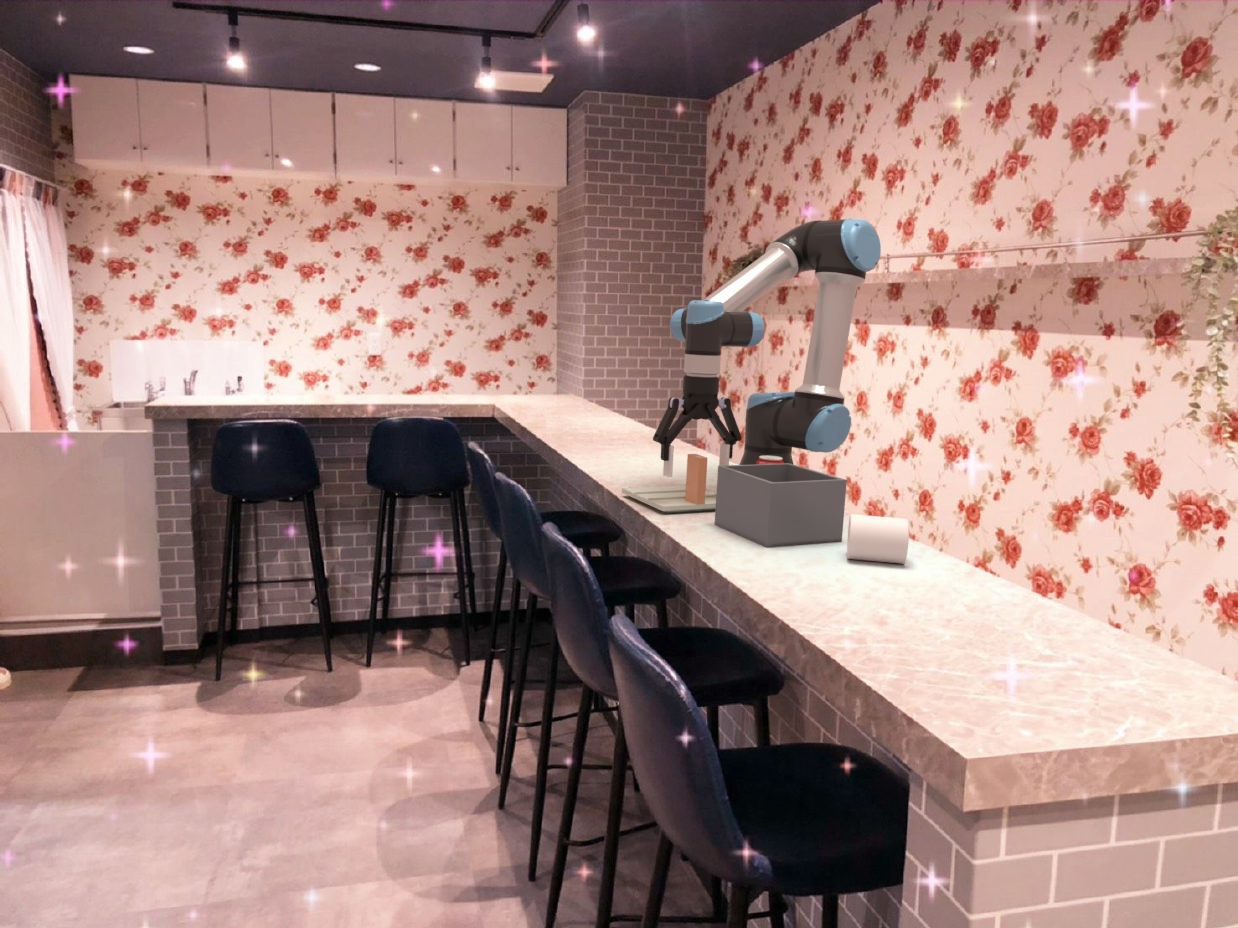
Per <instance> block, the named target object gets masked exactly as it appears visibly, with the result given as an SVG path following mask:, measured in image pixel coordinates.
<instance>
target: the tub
mask: <svg viewBox="0 0 1238 928" xmlns="http://www.w3.org/2000/svg"><path fill="white" fill-rule="evenodd" d="M847 480H848V479H844V478H841V477H838V476H834V475H831V474H828V473H824V472H821V471H817V470H814V469H810V468H807V467H803V466H800V465H798V464H795V463H793V464H790V463H781V464H754V465H739V464H732V465H730V464H729V465H727V466H719V465H718V466H717V480H716V493H715V494H716V509H715V510H714V512H715V513H714V526H717V527H719V528H721V529H724V530H725V531H729V532H730V533H733V534H735V535H738V536H740V537H742V538H744V539H747V540H749V541H751V542H753V543H755V544H758V545H760V546H762V547H765V548H777V547H791V546H800V545H802V546H803V545H814V544H825V543H827V544H828V543H839V542H842V541H843V531H844V517H845V505H846V497H847V496H846V493H847Z"/></svg>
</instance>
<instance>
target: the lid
mask: <svg viewBox="0 0 1238 928" xmlns="http://www.w3.org/2000/svg"><path fill="white" fill-rule="evenodd" d="M686 461H687V462H686V465H687V466H686V479H685V484H684V485H682V484H681V485H662V486H643V487H623V488H622V489H621V493H622V494H624V495H627V496H629V497H631V498H633V499H635V500H637V501H639V502H640V503H641V502H642V503H644V504H646V505H648V506H650V507H653V508H655V509H656V510H659V511H662V512H664V513H666V514H671V513H688V512H701V511H704V512H705V511H715V509H716V493H714V492H711V491H709V490H708V488H706V487H707V471H708V457H707V456H704V455H701V454H697V453H687V460H686Z"/></svg>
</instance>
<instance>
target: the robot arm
mask: <svg viewBox="0 0 1238 928" xmlns="http://www.w3.org/2000/svg"><path fill="white" fill-rule="evenodd" d="M881 249H882V248H881V241H880V237H879V235H878V232H877V229H876V228H875V227H874V226H873V225H872V224H871V223H870V222H869V221H867V220H864V219H857V218H856V219H853V218H847V219H831V220H820V219H819V220H811V221H807V222H805V223H802V224H800V225H798V226H796V227H793V228H792V229H790V230H788V231H787V232H785V233H784V234H782V235H781V236H779V237H778V238H776V239H775V240H773V242H771V243H770V244H768V246H766V249H765V253H764V254H762V255H761V256H760V257H758V258H757V259H756V260H754V261H753V262H752V263H750V264H749V265H748V266H746V267H745V268H744V269H743V270H741V271H740V272H738V273H737V274H736V275H734V276H733V277H732V278H731V279H729V280H727V281H726V282H725V283H724V284H723V285H721V286H720V287H719V288H717V289H716V290H715V291H713V293H711V294H710V295H708V296H707V297H705V298H704V299H703V300H699V299H698V300H697V299H696V300H694V299H693V300H691V301H690V302H689V303H688V305H687V307H685V308H680V309H677V310H676V311H675V312H674V313H673V314H672V315H671V318H670V322H669V329H670V332H671V335H672V336H673V338H674V339H675V340H677V341H679V342H682V343H683V342H685V343H684V344H685V345H684V349H685V350H684V362H683V363H684V364H683V371H684V373H686V374H685V375H684V376H683V380H682V395H683V396H682V399H680V398H676V397H669V399H668V403H667V409H666V410H665V412H664V414H663V416H662V419H661V421H660V423H659V425H658V427H657V429H656V430H655V433H654V435H653V437H652V440H653V441H654V442H656V443H658V444H660V460H662V461H663V469H662V472H663V473H662V475H663V476H666V477H668V478H673V470H674V469H673V468H674V448H675V447H674V445H671V444H673V442H674V441H675V440H676V438H677V436H678V435H679V434H680V433H681V432H682V430H683V429H684V428H685V427H686V425H687V424H688V423H689V422H691V421H692V420H695V421H697V420H698V421H699V420H709V421H710V424H711V425H713V428H714V429H715V430H716V432H717V433H718V435H719V436H720V438H721V439H722V440H723V442H720V446H719V464H718V466H727V465H730V459H732V458H733V449H734V445H736V444H737V442H741V441H742V439H743V437H742V434H741V432H740V429H739V427H738V424H737V420H736V418H735V416H734V413H733V410H732V400H731V398H728V397H724V396H722V397H721V398H719V397H718V394H719V392H720V378H719V376H718V375H720V374H721V373H720V372H721V358H722V357H721V356H722V347H731V348H732V347H734V348H735V347H736V348H739V347H741V348H747V347H749V348H750V347H755V346H757V345H759V344H760V343H761V341H762V340H763V338H764V336H765V330H766V329H765V328H766V327H765V326H766V325H765V321H764V319H763V318H762V316H761V315H760V314H758V313H756V312H752V311H747V310H746V309H747V308H748V307H751V305H753V304H754V303H755V302H756V301H758V300H759V299H760V298H762V296H763V295H765V294H767V293H768V292H769V291H770V290H772V289H773V288H774V287H776V286H777V285H779V283H781V282H783V280H789V279H790V280H791V279H792V278H794V277H796V276H797V275H798V274H801V273H805V272H808V271H814V276H815V278H816V280H817V281H818V283H819V285H818V291H817V296H816V303H815V308H814V309H815V310H814V315H813V321H812V327H811V333H810V337H809V345H808V350H807V357H806V363H805V369H804V374H803V379H802V384H801V385H800V386H799V387H797V388H796V389H795V390H794V391H781V392H759V393H757V392H756V393H755V392H754V393H752V394H750V395H749V396H748V400H747V404H746V409H745V428H744V429H745V430H744V447H743V448H744V450H743V455H742V457H741V459H740V462H739V464H738V465H754V464H756V462H757V461H758V460H759V456H778V457H782V458H783V459H782V460H783V462H784V463H790V464H794V461H793V457H792V454H793V448H795V449H799V450H800V449H801V450H806V451H810V452H812V453H824V454H825V453H827V454H828V453H831V452H832V453H833V452H835V451H836V450H837V449H839V448H840V446H842V445H843V444H844V443H845V441H846V439H847V438H848V435H849V433H850V431H851V426H852V416H851V413H850V409H848V407H846V405H844V404H845V395H843V394H842V392H841V390H840V387H841V381H842V375H843V370H844V364H845V358H846V352H847V347H848V342H849V335H850V330H851V329H850V328H851V323H852V319H853V312H854V308H855V301H856V300H855V299H856V295H857V288H858V287H859V286H861V285H862V284H864V283H865V282H866V281H865V280H866V275H867V272H870V271H872V270H874V269H875V268H876V266H877V265H878V264H879V262H880V259H881ZM745 310H746V311H745ZM681 407H682V408H683V409H682V411H681V412H680V414H678V417H677V418H676V415H677V413H678V411H679V409H680V408H681ZM718 407H719V408H720V411H721V414H722V417H723V419H724V422H723V421H722V420H721V418H720V415H719V414H718V412H717V411H716V410H717V408H718ZM675 418H676V420H675ZM674 420H675V421H674ZM724 423H725V424H726V426H725V424H724Z"/></svg>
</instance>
